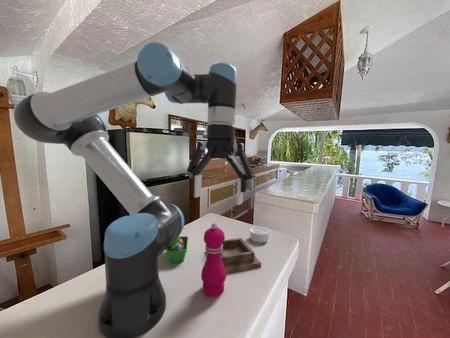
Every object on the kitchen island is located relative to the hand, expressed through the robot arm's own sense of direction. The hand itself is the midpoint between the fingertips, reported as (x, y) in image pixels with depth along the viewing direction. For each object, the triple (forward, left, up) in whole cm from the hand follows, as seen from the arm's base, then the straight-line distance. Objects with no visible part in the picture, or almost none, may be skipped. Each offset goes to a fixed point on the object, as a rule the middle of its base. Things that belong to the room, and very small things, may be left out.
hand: (217, 200), depth 57 cm
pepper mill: (-1, -1, -27) cm, 27 cm away
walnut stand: (+10, +13, -26) cm, 31 cm away
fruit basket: (-10, +21, -27) cm, 35 cm away
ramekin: (+28, +25, -27) cm, 46 cm away
